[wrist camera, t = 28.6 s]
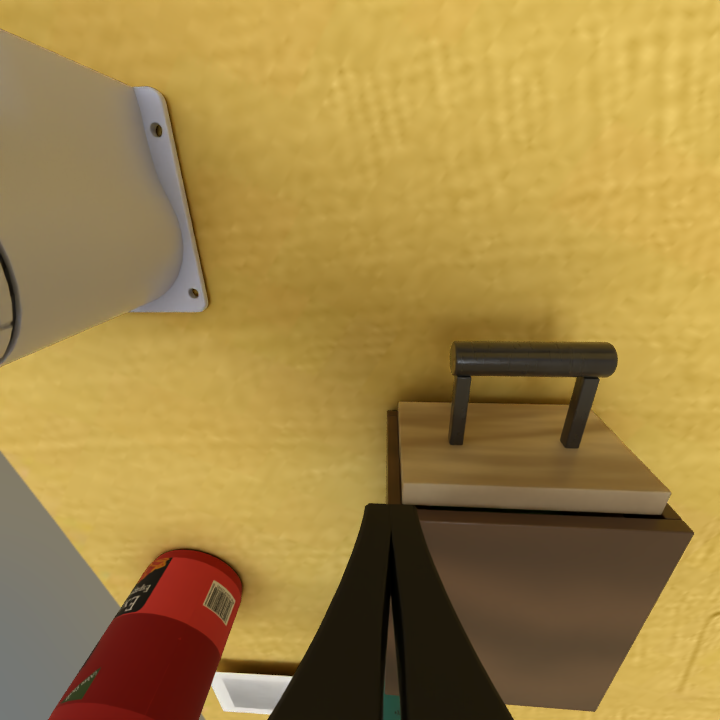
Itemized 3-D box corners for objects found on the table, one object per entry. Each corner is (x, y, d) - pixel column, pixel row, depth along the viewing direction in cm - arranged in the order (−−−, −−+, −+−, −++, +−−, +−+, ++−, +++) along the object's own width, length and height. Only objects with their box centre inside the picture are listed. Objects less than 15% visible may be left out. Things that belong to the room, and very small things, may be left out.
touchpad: (210, 657, 34) (199, 685, 32) (361, 665, 32) (360, 695, 31) (227, 697, 37) (219, 725, 35) (366, 706, 36) (365, 735, 34)
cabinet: (387, 409, 20) (387, 519, 13) (585, 414, 19) (696, 533, 13) (385, 562, 26) (384, 695, 19) (538, 571, 25) (595, 712, 18)
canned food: (157, 534, 27) (20, 735, 17) (256, 566, 27) (181, 776, 17) (145, 588, 30) (24, 784, 20) (234, 616, 31) (160, 817, 21)
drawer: (400, 316, 17) (407, 371, 12) (613, 316, 16) (729, 375, 11) (393, 555, 24) (395, 659, 19) (539, 562, 24) (585, 673, 18)
